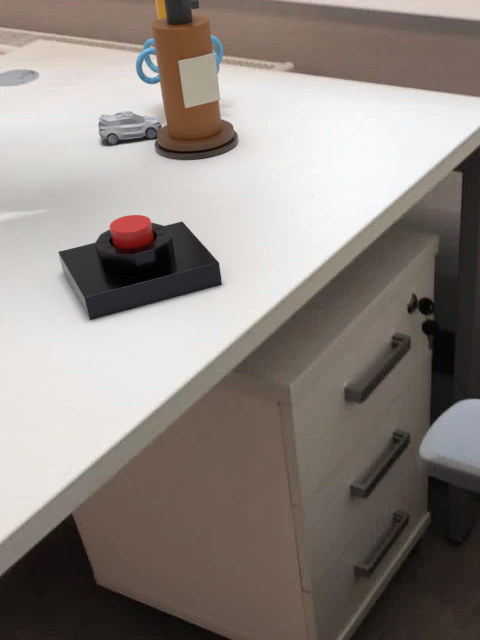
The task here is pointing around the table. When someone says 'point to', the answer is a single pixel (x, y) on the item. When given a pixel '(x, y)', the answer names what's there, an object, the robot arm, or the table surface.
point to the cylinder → (148, 51)
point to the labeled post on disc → (188, 80)
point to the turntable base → (197, 154)
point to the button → (131, 232)
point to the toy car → (127, 126)
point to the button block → (139, 270)
